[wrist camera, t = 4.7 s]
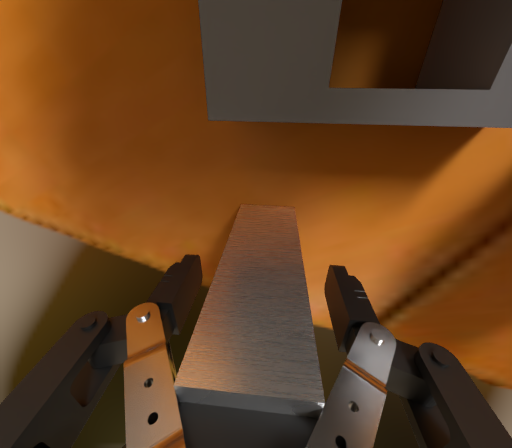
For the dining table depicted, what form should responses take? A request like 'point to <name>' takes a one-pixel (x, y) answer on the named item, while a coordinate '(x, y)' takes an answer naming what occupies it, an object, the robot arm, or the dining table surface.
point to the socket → (321, 58)
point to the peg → (256, 324)
